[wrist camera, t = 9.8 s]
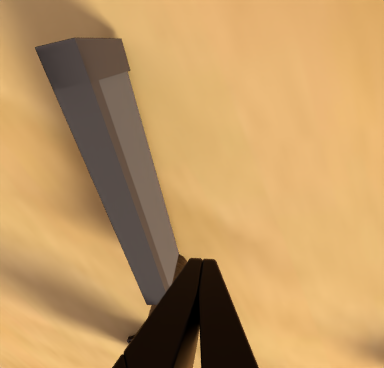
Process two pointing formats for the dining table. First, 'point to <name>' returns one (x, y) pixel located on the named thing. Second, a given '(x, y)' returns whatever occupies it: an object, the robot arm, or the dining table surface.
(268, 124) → the dining table surface
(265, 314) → the dining table surface
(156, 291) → the grey long flat bar
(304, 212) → the dining table surface
